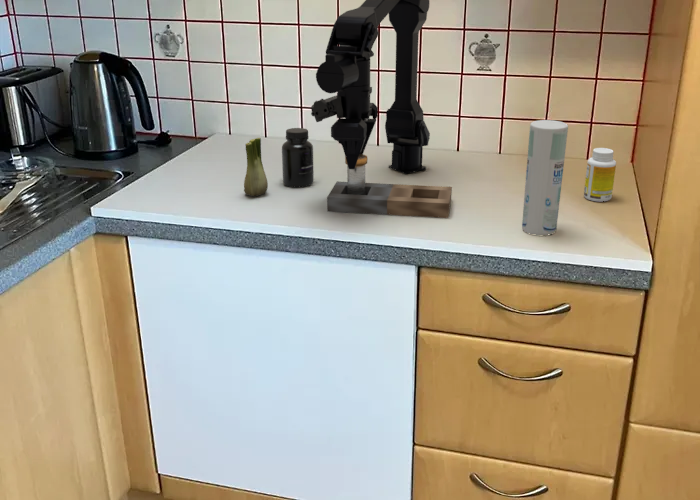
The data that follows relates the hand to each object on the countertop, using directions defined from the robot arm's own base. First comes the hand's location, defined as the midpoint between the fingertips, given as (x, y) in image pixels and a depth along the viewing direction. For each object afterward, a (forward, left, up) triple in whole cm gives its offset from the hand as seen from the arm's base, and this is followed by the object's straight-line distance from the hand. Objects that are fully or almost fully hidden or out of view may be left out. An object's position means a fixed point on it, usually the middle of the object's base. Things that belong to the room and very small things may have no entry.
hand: (355, 162), depth 151 cm
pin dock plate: (-5, +5, -9) cm, 11 cm away
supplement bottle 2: (-43, +26, -9) cm, 51 cm away
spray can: (-20, +31, -9) cm, 38 cm away
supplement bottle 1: (+2, -19, -9) cm, 21 cm away
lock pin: (0, 0, -9) cm, 9 cm away
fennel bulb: (+13, -18, -9) cm, 24 cm away
